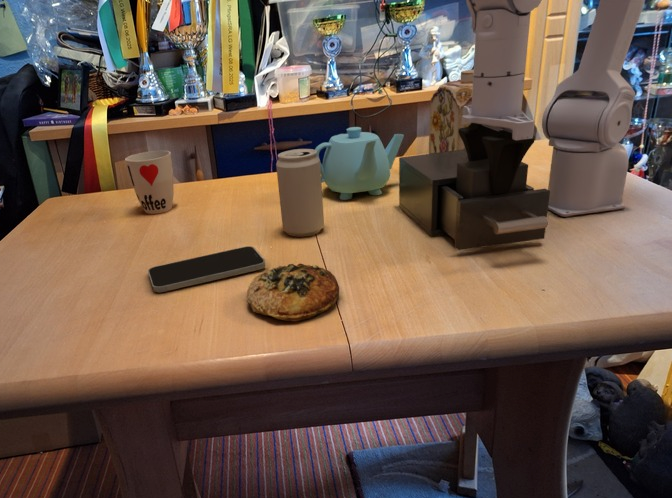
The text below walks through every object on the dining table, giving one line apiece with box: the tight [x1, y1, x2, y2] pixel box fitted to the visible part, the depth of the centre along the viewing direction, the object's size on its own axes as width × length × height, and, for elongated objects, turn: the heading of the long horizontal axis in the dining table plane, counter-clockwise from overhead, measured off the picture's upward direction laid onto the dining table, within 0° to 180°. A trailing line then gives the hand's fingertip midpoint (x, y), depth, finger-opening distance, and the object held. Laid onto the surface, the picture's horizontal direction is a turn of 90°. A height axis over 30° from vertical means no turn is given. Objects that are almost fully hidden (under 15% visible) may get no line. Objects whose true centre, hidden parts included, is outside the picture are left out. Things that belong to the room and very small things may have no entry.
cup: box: [124, 150, 175, 215], centre depth 102 cm, size 8×8×10 cm
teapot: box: [314, 126, 405, 201], centre depth 99 cm, size 15×14×11 cm
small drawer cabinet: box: [398, 149, 469, 238], centre depth 84 cm, size 15×13×8 cm
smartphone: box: [147, 245, 266, 293], centre depth 75 cm, size 7×1×15 cm
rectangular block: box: [456, 159, 529, 199], centre depth 72 cm, size 7×5×4 cm
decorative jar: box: [428, 68, 474, 154], centre depth 102 cm, size 12×12×18 cm
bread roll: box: [246, 263, 340, 322], centre depth 64 cm, size 11×11×5 cm
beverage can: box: [275, 148, 325, 238], centre depth 83 cm, size 6×6×12 cm
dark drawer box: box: [437, 183, 550, 251], centre depth 74 cm, size 18×11×6 cm, turn 6°
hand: (490, 186), depth 72 cm, fingers closed on rectangular block, 5 cm apart
